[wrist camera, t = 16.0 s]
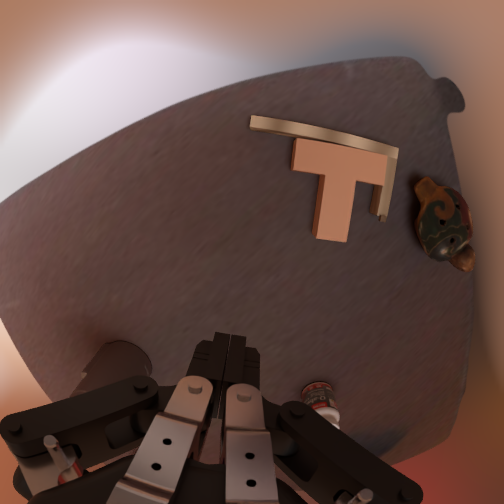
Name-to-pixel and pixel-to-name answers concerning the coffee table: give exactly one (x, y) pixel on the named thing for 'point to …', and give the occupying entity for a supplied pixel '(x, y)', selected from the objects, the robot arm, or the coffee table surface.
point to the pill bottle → (322, 401)
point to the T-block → (336, 181)
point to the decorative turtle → (444, 224)
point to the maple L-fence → (334, 137)
